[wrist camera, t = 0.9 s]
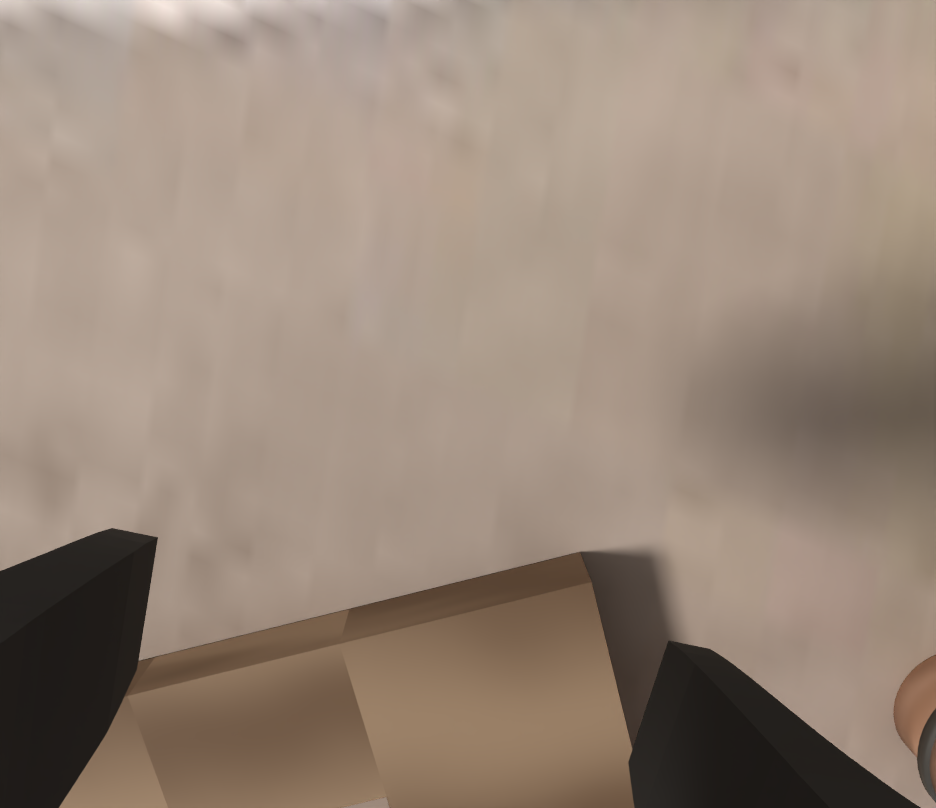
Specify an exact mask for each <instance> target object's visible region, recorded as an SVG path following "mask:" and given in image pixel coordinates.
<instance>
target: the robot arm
mask: <svg viewBox="0 0 936 808" xmlns="http://www.w3.org/2000/svg"><path fill="white" fill-rule="evenodd" d="M157 539H158V537H153V536H148V535H143V534H138V533H133V532H128V531H123V530H118V529H113V528H111V529H108V530H104V531H101V532H98V533H95V534H93V535H90V536H87V537H85V538H82V539H80V540H77V541H75V542H72V543H70V544H67V545H65V546H62V547H60V548H57V549H55V550H53V551H50V552H48V553H45V554H43V555H40V556H37V557H35V558H32V559H30V560H27V561H25V562H22V563H20V564H17V565H15V566H12V567H10V568H7V569H5V570H2V571H0V808H59V807H60V805H61V804H62V802H63V801H64V799H65V798H66V796H67V794H68V793H69V791H70V790H71V788H72V787H73V785H74V784H75V782H76V781H77V779H78V778H79V776H80V774H81V773H82V771H83V770H84V768H85V767H86V765H87V764H88V762H89V760H90V759H91V757H92V756H93V754H94V753H95V751H96V750H97V748H98V746H99V745H100V743H101V742H102V740H103V738H104V737H105V735H106V734H107V732H108V730H109V728H110V726H111V724H112V722H113V719H114V717H115V715H116V713H117V711H118V709H119V707H120V705H121V703H122V701H123V699H124V696H125V694H126V692H127V690H128V688H129V686H130V684H131V681H132V679H133V677H134V675H135V673H136V671H137V665H138V659H139V653H140V646H141V640H142V634H143V627H144V621H145V615H146V609H147V602H148V596H149V590H150V583H151V577H152V571H153V564H154V558H155V552H156V545H157ZM628 765H629V772H630V780H631V787H632V795H633V801H634V807H635V808H920V807H919V806H917V805H916V804H914V803H912V802H911V801H910V800H908V799H907V798H905V797H904V796H902V795H901V794H899V793H898V792H896V791H895V790H894V789H892V788H891V787H889V786H888V785H886V784H885V783H884V782H882V781H881V780H880V779H878V778H877V777H876V776H874V775H873V774H871V773H870V772H869V771H867V770H866V769H865V768H863V767H862V766H861V765H859V764H858V763H857V762H855V761H854V760H853V759H851V758H850V757H848V756H847V755H846V754H845V753H843V752H842V751H841V750H839V749H838V748H837V747H836V746H834V745H833V744H832V743H830V742H829V741H828V740H827V739H825V738H824V737H823V736H821V735H820V734H819V733H818V732H816V731H815V730H814V729H813V728H811V727H810V726H809V725H808V724H806V723H805V722H804V721H803V720H802V719H800V718H799V717H798V716H797V715H795V714H794V713H793V712H792V711H790V710H789V709H788V708H787V707H786V706H784V705H783V704H782V703H781V702H779V701H778V700H777V699H776V698H775V697H773V696H772V695H771V694H770V693H768V692H767V691H766V690H765V689H764V688H762V687H761V686H760V685H759V684H757V683H756V682H755V681H754V680H752V679H751V678H750V677H749V676H747V675H746V674H745V673H744V672H742V671H741V670H740V669H738V668H737V667H736V666H734V665H733V664H732V663H730V662H729V661H728V660H726V659H725V658H723V657H722V656H720V655H719V654H717V653H716V652H714V651H712V650H711V649H707V648H702V647H697V646H692V645H688V644H683V643H678V642H673V641H668V644H667V647H666V650H665V653H664V656H663V659H662V662H661V665H660V668H659V671H658V674H657V677H656V680H655V683H654V686H653V689H652V692H651V695H650V698H649V701H648V704H647V707H646V710H645V713H644V716H643V719H642V722H641V725H640V728H639V731H638V734H637V737H636V740H635V743H634V746H633V749H632V752H631V755H630V758H629V761H628Z"/></svg>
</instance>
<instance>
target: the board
mask: <svg viewBox="0 0 936 808" xmlns="http://www.w3.org/2000/svg"><path fill="white" fill-rule="evenodd" d="M631 752H632V746H631V742H630V738H629V734H628V730H627V726H626V721H625V717H624V713H623V709H622V705H621V701H620V697H619V693H618V689H617V684H616V680H615V676H614V672H613V668H612V664H611V660H610V656H609V652H608V647H607V643H606V639H605V635H604V631H603V627H602V623H601V619H600V615H599V610H598V606H597V602H596V598H595V594H594V590H593V586H592V582H591V579H590V577H589V574H588V572H587V569H586V566H585V564H584V561H583V559H582V556H581V554H580V552H579V553H575V554H571V555H567V556H563V557H559V558H555V559H551V560H546V561H542V562H538V563H534V564H530V565H526V566H522V567H518V568H514V569H510V570H506V571H502V572H498V573H494V574H490V575H486V576H482V577H478V578H474V579H470V580H465V581H461V582H457V583H453V584H449V585H445V586H441V587H437V588H433V589H429V590H425V591H421V592H417V593H413V594H409V595H405V596H401V597H397V598H393V599H389V600H385V601H380V602H376V603H372V604H368V605H364V606H360V607H356V608H352V609H348V610H344V611H340V612H336V613H332V614H328V615H324V616H320V617H316V618H312V619H308V620H304V621H299V622H295V623H291V624H287V625H283V626H279V627H275V628H271V629H267V630H263V631H259V632H255V633H251V634H247V635H243V636H239V637H235V638H231V639H227V640H223V641H219V642H214V643H210V644H206V645H202V646H198V647H194V648H190V649H186V650H182V651H178V652H174V653H170V654H166V655H162V656H158V657H154V658H150V659H146V660H142V661H138V665H137V671H136V673H135V675H134V677H133V679H132V681H131V684H130V686H129V688H128V690H127V692H126V694H125V696H124V699H123V701H122V703H121V705H120V707H119V709H118V711H117V713H116V715H115V717H114V719H113V722H112V724H111V726H110V728H109V730H108V732H107V734H106V735H105V737H104V738H103V740H102V742H101V743H100V745H99V746H98V748H97V750H96V751H95V753H94V754H93V756H92V757H91V759H90V760H89V762H88V764H87V765H86V767H85V768H84V770H83V771H82V773H81V774H80V776H79V778H78V779H77V781H76V782H75V784H74V785H73V787H72V788H71V790H70V791H69V793H68V794H67V796H66V798H65V799H64V801H63V802H62V804H61V805H60V807H59V808H342V807H346V806H350V805H354V804H359V803H363V802H367V801H371V800H375V799H380V798H384V797H387V800H388V803H389V807H390V808H635V807H634V801H633V795H632V787H631V780H630V772H629V765H628V761H629V758H630V755H631Z"/></svg>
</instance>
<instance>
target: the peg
mask: <svg viewBox="0 0 936 808" xmlns="http://www.w3.org/2000/svg"><path fill="white" fill-rule="evenodd" d="M894 722H895V726H896V729H897V732H898V734H899V736H900V737H901V739H902V741H903V742H904V743H905V744H906V746H907V747H908V748H909V749H910V750H911V751H912V752H913V754H914V755H915V756H916V757H917V762H918V770H919V774H920V778H921V780H922V783H923V785H924V787H925V789H926V790H927V792H928V794H929V795H930V796H931V797H932V799H933V800H934V801H935V802H936V655H935V656H933V657H930V658H929V659H927V660H925V661H923V662H922V663H921V664H919V665H918V666H917V667H916V668H915V669H913V670H912V671H911V672H910V674H909V675H908V676H907V677H906V678H905V680H904V681H903V683H902V685H901V686H900V689H899V691H898V693H897V696H896V699H895V704H894Z"/></svg>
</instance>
